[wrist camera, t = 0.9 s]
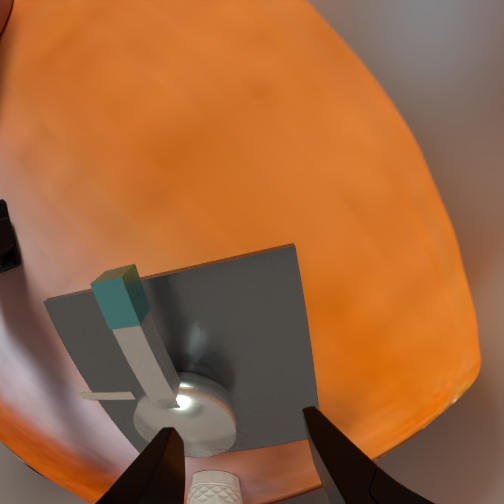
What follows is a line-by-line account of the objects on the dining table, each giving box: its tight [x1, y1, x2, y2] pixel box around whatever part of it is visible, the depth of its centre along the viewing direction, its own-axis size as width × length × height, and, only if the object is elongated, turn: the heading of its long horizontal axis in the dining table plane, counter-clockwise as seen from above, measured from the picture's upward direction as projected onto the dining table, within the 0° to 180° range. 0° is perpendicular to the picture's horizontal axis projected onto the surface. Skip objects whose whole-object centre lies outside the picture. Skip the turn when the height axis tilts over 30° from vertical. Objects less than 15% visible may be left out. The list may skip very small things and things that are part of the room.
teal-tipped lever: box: [90, 264, 236, 458], centre depth 18 cm, size 17×8×3 cm, turn 13°
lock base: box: [44, 243, 319, 453], centre depth 22 cm, size 24×22×2 cm
